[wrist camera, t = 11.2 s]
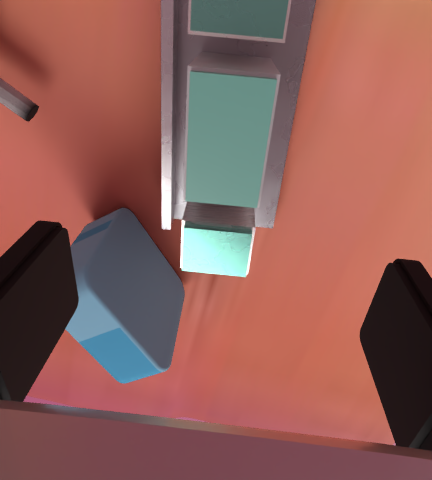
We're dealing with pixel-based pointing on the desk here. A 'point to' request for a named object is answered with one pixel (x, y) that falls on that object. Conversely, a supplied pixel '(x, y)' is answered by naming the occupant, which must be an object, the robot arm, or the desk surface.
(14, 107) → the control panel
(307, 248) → the desk surface
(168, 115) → the rail
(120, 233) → the data package
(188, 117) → the block
